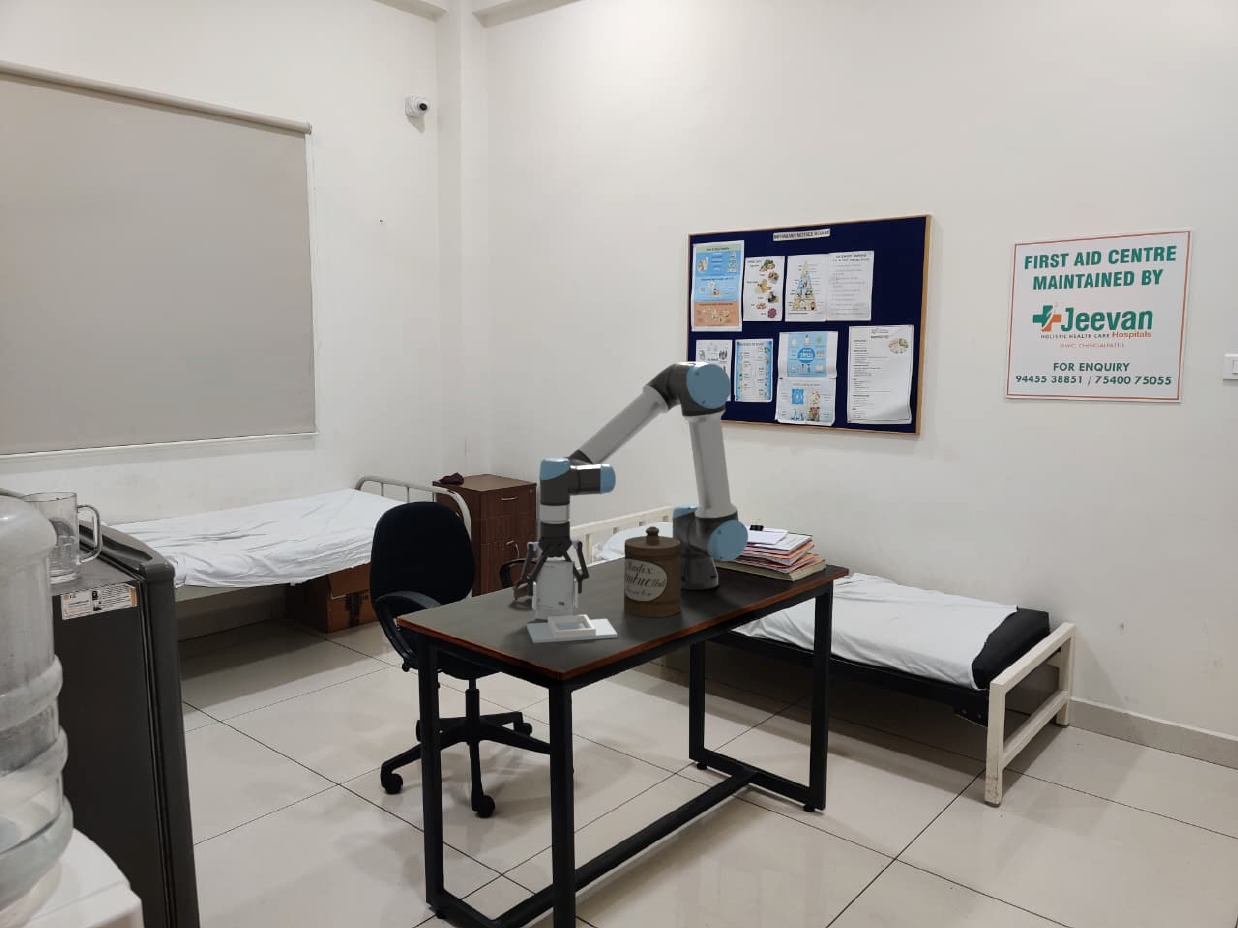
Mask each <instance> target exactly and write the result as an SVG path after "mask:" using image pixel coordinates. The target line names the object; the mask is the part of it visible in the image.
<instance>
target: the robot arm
mask: <svg viewBox="0 0 1238 928" xmlns="http://www.w3.org/2000/svg"><path fill="white" fill-rule="evenodd" d="M731 390H732V384H731V379H730V376H729V374H728V373H727V372H726V370H725V369H724V368H722V366H720V365H718V364H717V363H712V362H709V361H708V362H707V361H688V360H687V361H686V360H682V361H678V362H675V363H672V364H671V365H669V366H667V367H666V368H665V369H663V370H661V371H660V372H659V373H658V374H657V375H655V376H654V377H653V378H652V379H651V380H649V382H647V383H646V384H645V385H643V387H642V392H641V393H640V394H639V395H638V396H636V398H635V399H633V400H632V401H631V402H630V403H629V404H627V406H625V407H624V408H623V409H621V410H620V411H619V412H618V413H617V414H616V415H615V416H614V417H612V419H610V420H609V421H608V422H607V423H606V424H604V426H603V427H601V428H600V429H599V430H598V431H597V432H595V434H593V435H592V436H591V437H589V439H588V440H586V441H585V442H584V443H583V444H582V445H581V446H579V447H578V448H577V449H576V450H574V452H572V453H571V454H570V455H569V456H562V457H549V458H547V457H546V458H544V459H542V460H541V461H540V464H539V465H540V466H539V476H538V477H539V478H538V479H539V519H540V522H539V538H538V541H535V542H532V541H528V542H527V544H526V547H527V552H526V556H525V559H524V563H523V566H522V571H521V573H520V577H519V579H520V578H521V580H522V582H524V583H526V584H528V595H529V596H528V595H527V596H528V597H531V608H532V610H533V611H536V583H535V582H534V581H535V579H536V577H537V575H538V574H539V572H540V570H541V568H542V566H543V565H544V563H545V561H546V560H547V558H548V557H549V558H563V559H564V560H566V561H567V562H572V561H573V560H572V558H571V557H570V554H568V551H569V550H570V548H571V547H572V548H573V549H574V550H575V552H576V555H577V558H578V563H579V566H580V570H581V573H580V572H579V571H578V570H579V569H577V567H576V564H575V565H574V563H573V562H572V563H573V573H574V578H575V579H574V597H573V608H579V595H580V594H582V592H583V582H584V580H588V579H589V578H590V574H589V570H588V566H587V564H586V559H585V556H584V552H583V543H584V542H582V540H580V539H577V540H572V539H571V522H570V519H571V496H585V495H586V496H587V495H588V496H589V495H603V494H609V493H612V492H613V491H614V490H615V488H616V481H617V476H616V471H615V470H614V467H613V466H612V465H611V464H609V463H606V462H607V461H608V460H609V459H610V458H611V457H612V456H614V455H615V454H616V453H617V452H618V451H619V450H621V448H623V447H624V446H625V445H626V444H627V443H628V442H630V441H631V440H632V439H633V438H634V437H635V436H636V435H638V433H640V432H641V431H642V430H643V429H644V428H645V427H648V425H649V424H650V423H651V422H652V421H653V420H655V419H656V418H657V417H658V416H659V415H660V414H667V413H669V412H670V410H672V409H673V408H675V407H677V406H680V409H681V415H682V417H683V418H684V419H686V420H687V421H688V425H689V426H688V427H689V434H690V441H691V450H692V458H693V459H692V460H693V465H694V475H695V480H696V481H695V482H696V490H697V496H698V497H697V498H698V504H697V503H696V504H685V505H684V504H683V505H678V506H675V507H674V509H673V511H672V518H671V519H672V538H675V539H677V540H679V541H680V567H681V590H690V591H692V590H693V591H701V590H709V589H713V588H715V587H717V586H718V585H719V574H718V571H717V569H716V564H715V561H714V560H716V561H722V562H730V561H733V560H734V559H737V558H738V557H739V556H741V555H742V553H743V551H744V550H745V549H746V548H747V544H748V543H749V542H748V541H749V531H748V529H747V527H746V526H745V524H744V523H743V522H742V521H740V520H739V514H738V507H737V506H735V504H733V503H732V502H731V494H730V484H729V477H728V476H729V475H728V469H727V468H728V467H727V460H726V452H725V451H726V450H725V443H724V435H723V427H722V419H721V418H722V416H723V415H724V413H725V412H726V403H727V401H728V398H729V397H730V395H731ZM604 463H605V464H604ZM538 547H539V549H540V550H541V553H540V555H539V558H538V559H537V561H536V563H535V565H534V567H533V568H532V570H531V572H529V571H530V567H531V564H532V562H533V557H534V552H536V551H537V548H538ZM538 561H539V562H538ZM528 574H530V575H529V577H527V576H528Z"/></svg>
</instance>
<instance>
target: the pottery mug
mask: <svg viewBox="0 0 1238 928" xmlns="http://www.w3.org/2000/svg"><path fill="white" fill-rule="evenodd" d="M530 574H531V573H528V576H527V577H529V575H530ZM534 582H535V583H536V588H537V577H536V579H535V581H534ZM524 583H525V582H522V580H521V578H520V577H519V579H517V580H516V581H515V583H514V585H513V586H512V588H511V589H512V590H513V598H514V599H515V600H516V601H517V600H518V599H520V598H523V597H526V596H528V597H530V596H529V595H528V583H526V584H525V585H523V584H524ZM522 585H523V586H522ZM520 586H521V587H520Z"/></svg>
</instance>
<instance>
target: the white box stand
mask: <svg viewBox="0 0 1238 928" xmlns="http://www.w3.org/2000/svg"><path fill="white" fill-rule="evenodd" d="M526 629H527V631H528V634H529V636H530V638H531V641H532V643H533V644H541V643H554V642H555V643H556V642H557V643H558V642H570V641H584V640H594V639H595V640H597V639H612V638H618V633H617V631H616V629H615V628H614V627H613V625H612V624H611V623H610V621H609V620H608V618H596V619H595V618H594V619H590V618H589V616H588V615H587V614H573V615H569V616H553V617H548V620H547V622H537V623H536V622H534V623H526Z"/></svg>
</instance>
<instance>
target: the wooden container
mask: <svg viewBox="0 0 1238 928" xmlns="http://www.w3.org/2000/svg"><path fill="white" fill-rule="evenodd" d="M659 533H660V529H659V528H658V527H656V526H653V525H652V526H649V527H647V528H646V530H645V534H646V535H645V536H644V535H643V536H642V535H641V536H634V537H631V538H628V539H626V540H624V552H623V553H624V571H623V573H624V575H623V577H624V578H623V608H624V609H623V610H624V611H625V612H627V613H628V614H631V615H633V616H638V617H641V618H642V617H643V618H665V617H669V616H673V615H676V614H678V613H679V612H680V611H681V597H682V596H681V594H682V589H681V567H680V541H679V540H677V539H675V538H673V537H670V536H663V535H659Z"/></svg>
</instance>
